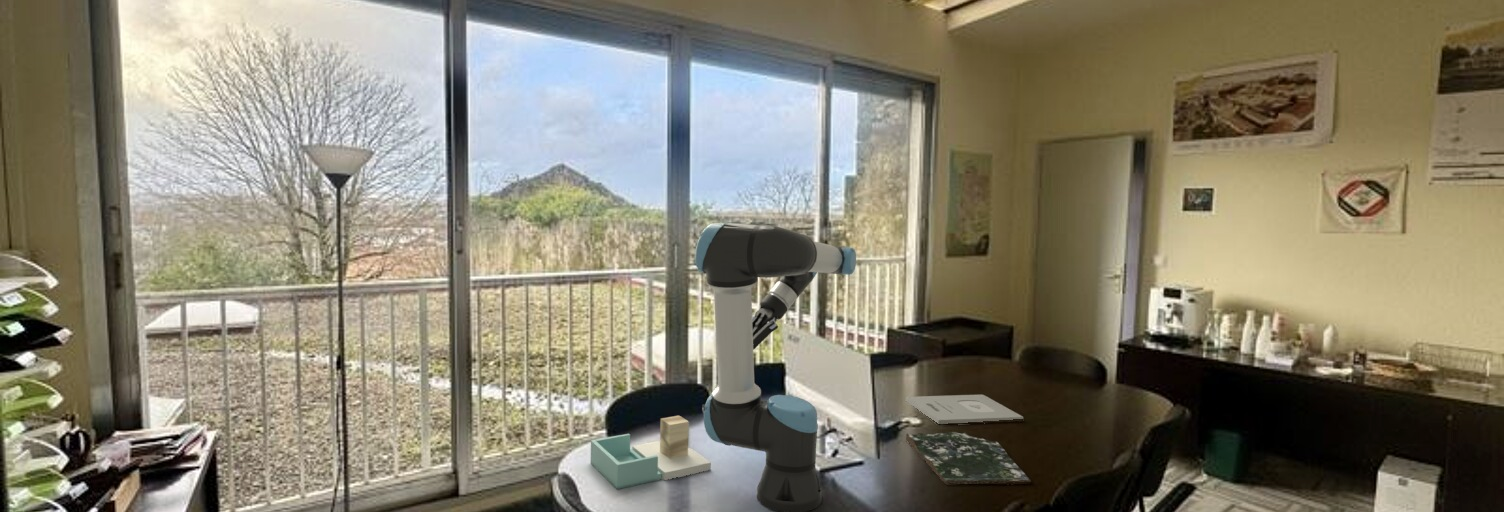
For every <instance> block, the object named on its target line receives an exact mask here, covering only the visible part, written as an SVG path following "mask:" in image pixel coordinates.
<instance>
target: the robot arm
mask: <svg viewBox="0 0 1504 512" xmlns="http://www.w3.org/2000/svg"><path fill="white" fill-rule="evenodd" d="M694 255H695V256H694V258H695V259H694V261H695V262H694V263H695V266H696V269H697V271H699V273H701V274H706V285H707V286H709V287H710V288H711V289H712V290H713V297H714V298H713V301H714V321H715V324H714V325H715V342H716V364H717V386H716V387H715V388H713V390H712V393H711V394H710V395H709V396H708V397H707V400H706V402H705V411H704V415H703V425H704V429H705V432H706V434H707V436H708V437H709V439H711V440H712V441H714V442H716V443H720V444H723V445H725V446H728V447H729V446H733V447H738V448H742V449H743V448H744V449H750V450H755V451H759V452H764V453H765V466H764V468H763V471H762V475H761V477H760V481H759V483H758V485H757V489H756V499H757V500H758V501H757V502H759V503H760V504H761V505H762V506H763V507H765V508H767V509H770V510H772V511H776V512H811V511H813V510H815V509H816V508H818V507H819V506H820V505H821V503H822V499H823V497H822V494H823V492H822V487H821V484H820V480H819V477H818V473H817V470H816V461H817V457H816V456H817V442H818V441H817V440H818V438H817V437H818V430H819V425H818V412H817V409H816V407H815V406H814V405H813V404H812V403H811V402H810V401H808V400H806V399H804V398H801V397H799V396H794V395H788V394H785V395H782V394H777V395H772V396H770V397H769V398H768V400H764V399H762V389H761V387H759V385H757V384H756V383H755V365H754V364H755V362H754V350H755V349H756V348H757V347H758V346H759V345H760V344H762V342H763V341H764V340H765V339H767V338H768V337H769V336H770V334H771V333H773V332H774V331H775V330H777V329H778V328H779V326H778V324H777V323H776V321H777V320H781V319H782V318H783V317H784V316H785V315H786V313H787V312H788V309H790V308H791V307H792V306H793V305H794V303H795V302H796V300H798V298H799V297H800V295H801V294H802V293H803V292H804V291H805V290H806V288H807V287H808V286H809V285H810V283H812V281H813V280H814V279H815V277H816V275H817V274H819V273H822V274H833V275H840V276H843V275H845V276H846V275H848V276H850V275H853V273H855V270H856V266H857V265H856V264H857V253H856V250H855V249H854V248H853V247H849V246H838V245H832V244H827V243H824V242H823V243H822V242H818V241H815V240H813V239H812V238H811V237H809V236H808V235H806V234H804V233H800V232H796V231H793V230H790V229H787V228H784V227H780V226H776V225H772V224H771V225H769V224H751V223H738V222H736V223H735V222H729V221H728V222H716V223H715V222H714V223H713V222H712V223H709V224H708V225H707V226H706V227H705V228H704V229H703V230H702V231H701V234H700V235H699V237H698V240H697V243H696V247H695V253H694ZM758 278H765V279H766V278H767V279H768V278H769V279H771V278H779V279H778V281H777V282H775V284H774V285H773V286H772V288H770V290H769V291H768V294H766V295H765V296H764V298H763V299H762V300H761V301H760V302H759V305H760V308H759V309H758V310H756V311H755V313H754V314H753V304H752V303H753V301H752V300H753V298H752V289H753V287H755V285H757V283H758Z"/></svg>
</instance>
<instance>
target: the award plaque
mask: <svg viewBox="0 0 1504 512" xmlns="http://www.w3.org/2000/svg"><path fill="white" fill-rule="evenodd" d="M906 401H907V402H909V403H910V404H911V405H912V406H911V405H910V404H909V405H910V406H911V407H913V406H914V407H915V408H917V409H918V410H919V411H918V410H917V409H916V410H917V411H918V412H920V411H921V412H922V413H923V414H922V413H921V412H920V413H921V414H922V415H924V414H925V415H926V416H928V417H929V418H931V419H932V420H934V421H935V422H937V423H938V424H948V423H968V422H983V421H999V420H1013V419H1023V420H1024V416H1022V415H1021V414H1019V413H1018V412H1015V411H1013V410H1012V409H1009V408H1008V407H1006V406H1005V405H1003V404H1001V403H999V402H997V401H995V400H994V399H992V398H990V397H988V396H986V395H984V394H958V395H957V394H956V395H951V394H950V395H929V396H928V395H926V396H925V395H922V396H921V395H920V396H919V395H918V396H906V397H905V402H906ZM907 402H906V403H907ZM914 407H913V408H914ZM915 408H914V409H915ZM925 415H924V416H925ZM926 416H925V417H926ZM928 417H927V418H928ZM929 418H928V419H929ZM931 419H930V420H931ZM932 420H931V421H932ZM935 422H934V423H935Z"/></svg>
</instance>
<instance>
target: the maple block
mask: <svg viewBox="0 0 1504 512" xmlns="http://www.w3.org/2000/svg"><path fill="white" fill-rule="evenodd" d="M659 425H660V426H659V427H660V430H659V431H660V435H659V436H660V437H659V441H660V452H661V453H662V454H664V455H665V456H666V457H667V458H669V459H671V458H675V457H680V456H685V455H688V447H689V436H690V435H689V431H690V428H689V427H690V421H688V420H687V419H685V418H684V417H682V416H680V415H674V416H668V417H662V418H660V424H659Z"/></svg>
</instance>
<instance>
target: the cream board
mask: <svg viewBox="0 0 1504 512" xmlns="http://www.w3.org/2000/svg"><path fill="white" fill-rule="evenodd" d="M631 447H632V448H631V449H632V450H633V451H635V452H636V453H637V454H638V455H640V456H641V457H642V458H645V457H650V456H655V455H657V456H658V471H659V472H660V473H661V479H662V478H663V479H662V480H663V481H669V480H672V478H674V479H677V478H676V477H678V478H682V477H686V475H687V476H690V474H691V475H695V474H698V473H699V472H700V473H704V472H709V471H711V469H712V468H711V466H712V462H711V461H709V460H708V459H707V458H706V457H704V456H703V455H701V454H699V452H697V451H695V450H694V449H692V448H691V447H690V446H688V455H685V456H680V457H675V458H671V459H669V458H667V457H666V456H665V455H664V454H662V453H661V452H660V440H655V441H649V442H646V443H640V444H636V445H635V444H634V445H632V446H631ZM708 470H709V471H708ZM703 471H704V472H703ZM668 479H669V480H668Z"/></svg>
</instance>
